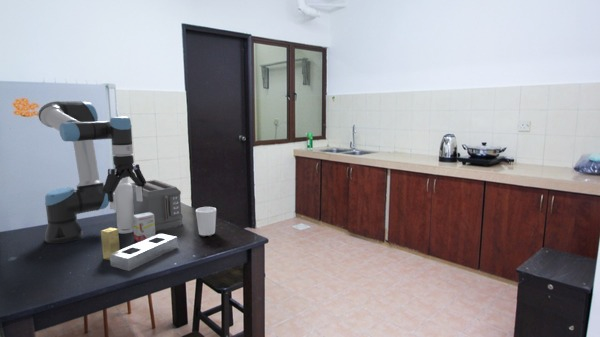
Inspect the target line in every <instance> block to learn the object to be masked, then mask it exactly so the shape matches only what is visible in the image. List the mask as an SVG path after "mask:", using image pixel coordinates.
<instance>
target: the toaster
mask: <svg viewBox="0 0 600 337" xmlns="http://www.w3.org/2000/svg"><path fill="white" fill-rule="evenodd" d="M129 183H130V184H131V185H132V190H133V203H134V215H137V214H142V213H147V212H151V213H153V214H154V219H155V232H158V231H159V232H160V231H164V230H167V229H171V228H174V227H180V226H181V225H182V224H183V214H182V204H181V203H182V202H181V195H182V194H181V190H180V189H179V188H178V187H177V186H175V185H172V184H168V183H166V182H163V181H159V180H157V179H152V180H151V179H150V180H146V184H145V186H143V193H142V199H143V201H142V202H140V201H137V199H136V186H137V185H136V183H135V182H129Z"/></svg>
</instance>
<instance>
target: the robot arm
mask: <svg viewBox="0 0 600 337" xmlns="http://www.w3.org/2000/svg"><path fill="white" fill-rule="evenodd" d="M97 112H98V111H97V110H96V108H95V106H94V104H93V103H92V102H88V101H81V100H77V101H76V100H75V101H58V100H57V101H51V102H48V103H46V104H44V105H42V106H41V107H40V109H39V110H38V116H37V117H38V120H39V121H40V123H41V124H43V125H44V126H46V127H48V128H53V129H55V130H56V131H58V132H59V135H60V138H61V140H63V141H64V142H72V143H73V148H74V155H75V162H76V168H77V175H78V178H79V179H78V180H79V182H78V183H77V185H76V189H74V188H73V187H71V186H70V187H69V186H67V187H63V188H62V187H61V188H56V189H54V190H51V191H49V192H47V193H46V194H45V196H44V199H45V201H44V205H45V209H46V210H45V212H46V219H47V220H46V221H47V227H46V231H45V234H44V240H45V243H47V244H63V243H68V242H73V241H77V240H79V239H81V238H82V237H83V234H84V233H83V229H82V227H81V225H80V223H79V221H78V217H77V215H79V214H85V213H90V212H94V211H95V212H96V211H100V210H104V209H106V208H107V207H108V206H109V209H110V210H113V211H116V209H117V208H116V195H115V192H114V191H115V189H116V187H117V186H118V184H119V182H120V180H122V178H125V177H128V178H130V179H131V180H132V181H133V183H136V185H137V186H136V199H137V201H140V202H142V201H143V199H142V193H143V186H145V184H146V181H147V180H146V178H145V177H144V174H143V173H142V170H141V167H140V164H136V163H135V161H134V160H135V159H134V155H133V153H134V148H133V134H132V132H133V130H132V124H131V123H132V122H131V118H130V117H128V116H111V117H110V119H109V120H103V121H101V120H100V121H99V120H98V119H99V117H98V113H97ZM98 140H99V141H100V140H111V145H112V146H111V147H112V149H111V150H112V154H113V157H112V158H113V165H114V168H108V170H107V176H106V178H105V182H103V181H102V180H101V179H100V176H99V169H98V162H97V157H96V150H95V143H94V141H98ZM118 176H119V177H118ZM120 183H121V182H120Z"/></svg>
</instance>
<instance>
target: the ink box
mask: <svg viewBox="0 0 600 337" xmlns="http://www.w3.org/2000/svg"><path fill="white" fill-rule="evenodd" d="M133 229H134V231H133V240H135V241H136V242H137V243H138V242H141V241H143V240H146V239H148V238H150V237H153V236H155V235H157V234H156V231H155V219H154V214H153V213H151V212H147V213H142V214H137V215H134V216H133Z"/></svg>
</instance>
